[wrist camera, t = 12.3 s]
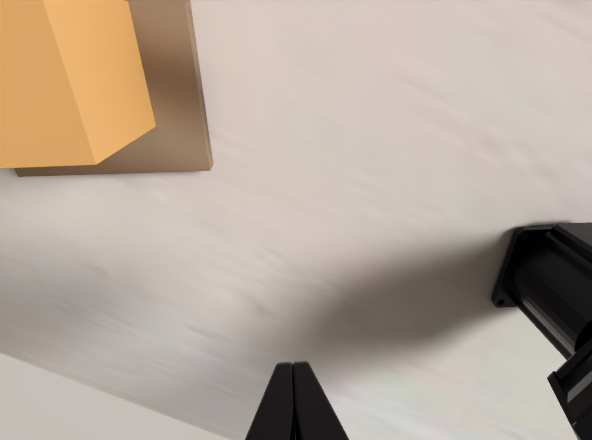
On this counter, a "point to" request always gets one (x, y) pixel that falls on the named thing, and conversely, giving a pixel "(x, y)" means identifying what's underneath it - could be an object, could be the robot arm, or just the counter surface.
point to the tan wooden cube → (69, 82)
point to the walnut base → (160, 99)
